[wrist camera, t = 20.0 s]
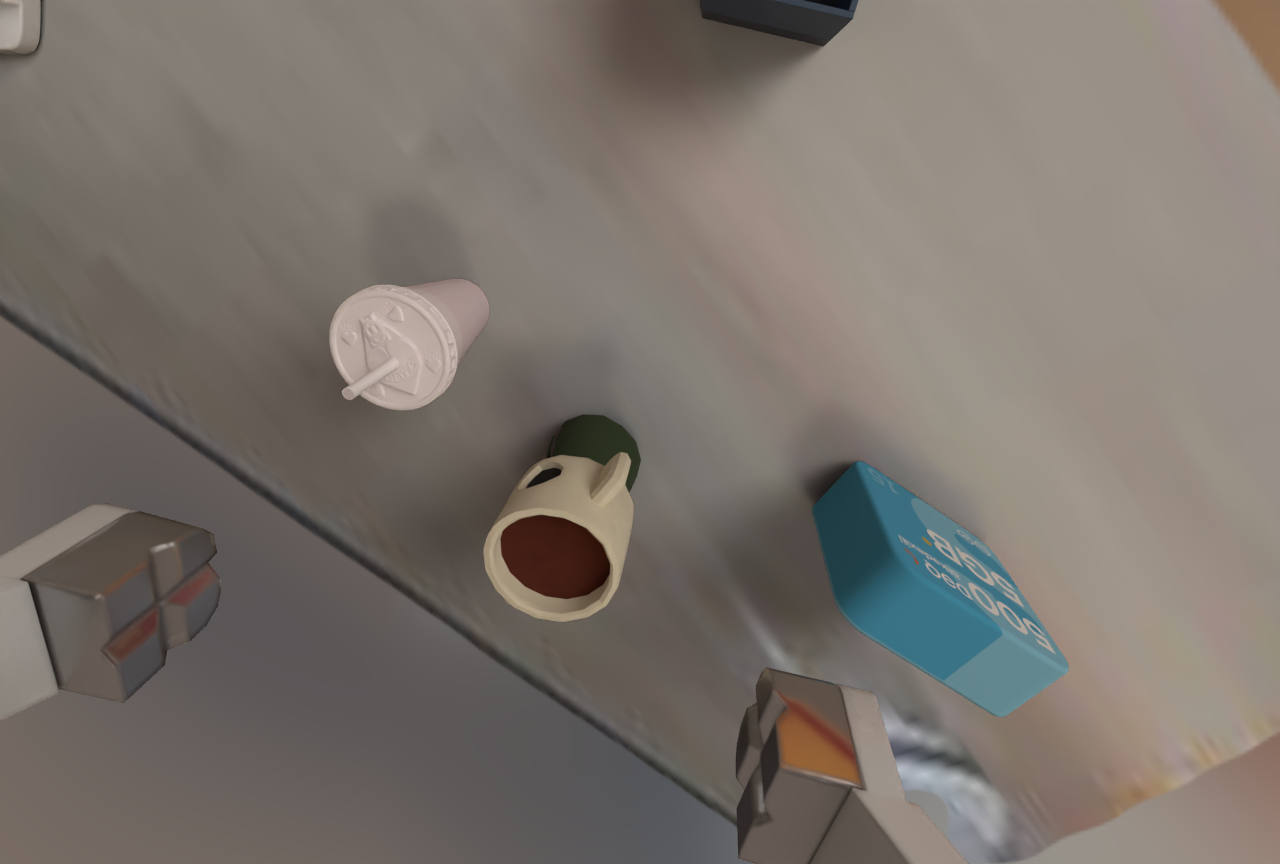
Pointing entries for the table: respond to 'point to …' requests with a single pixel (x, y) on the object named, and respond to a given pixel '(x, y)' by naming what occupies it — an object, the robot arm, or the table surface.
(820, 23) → the bin
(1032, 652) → the data package
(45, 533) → the robot arm
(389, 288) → the smoothie
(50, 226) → the table surface
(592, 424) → the character mug
